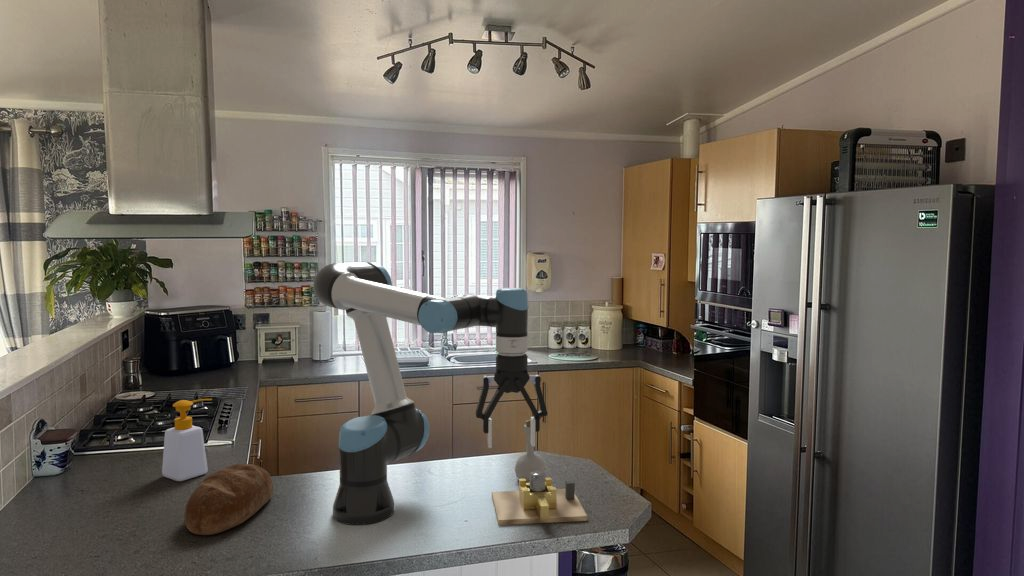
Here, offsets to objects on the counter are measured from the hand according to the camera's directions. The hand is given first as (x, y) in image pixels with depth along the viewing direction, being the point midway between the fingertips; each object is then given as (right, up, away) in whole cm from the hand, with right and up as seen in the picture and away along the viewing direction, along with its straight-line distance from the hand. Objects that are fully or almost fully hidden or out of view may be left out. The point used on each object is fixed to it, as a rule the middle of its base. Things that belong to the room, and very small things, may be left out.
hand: (511, 445), depth 157 cm
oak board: (+7, -19, +12) cm, 23 cm away
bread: (-70, -19, +8) cm, 74 cm away
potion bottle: (+5, -18, +32) cm, 37 cm away
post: (+7, -19, +12) cm, 23 cm away
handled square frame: (+7, -18, +8) cm, 21 cm away
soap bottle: (-94, -17, +36) cm, 102 cm away
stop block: (+15, -17, +15) cm, 28 cm away
